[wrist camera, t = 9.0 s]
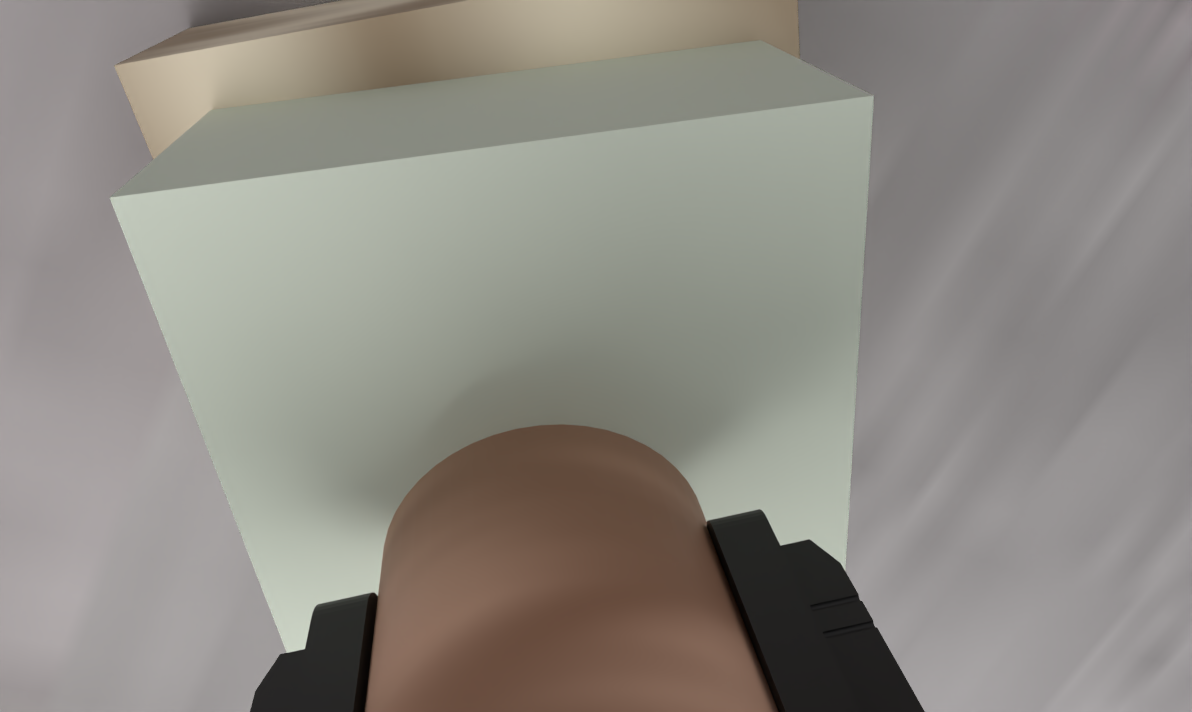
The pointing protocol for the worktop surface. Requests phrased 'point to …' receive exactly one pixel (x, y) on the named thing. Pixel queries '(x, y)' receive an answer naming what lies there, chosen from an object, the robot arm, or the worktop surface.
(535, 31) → the bottom block
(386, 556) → the round block
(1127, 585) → the worktop surface
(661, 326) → the top block
